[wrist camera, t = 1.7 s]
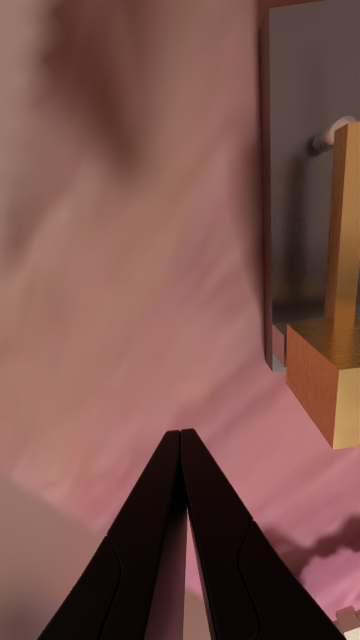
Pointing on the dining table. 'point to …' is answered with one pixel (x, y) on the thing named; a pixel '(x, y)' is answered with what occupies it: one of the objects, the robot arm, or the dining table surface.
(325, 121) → the bolt plate dividers
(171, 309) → the dining table surface
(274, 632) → the robot arm
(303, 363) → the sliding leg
